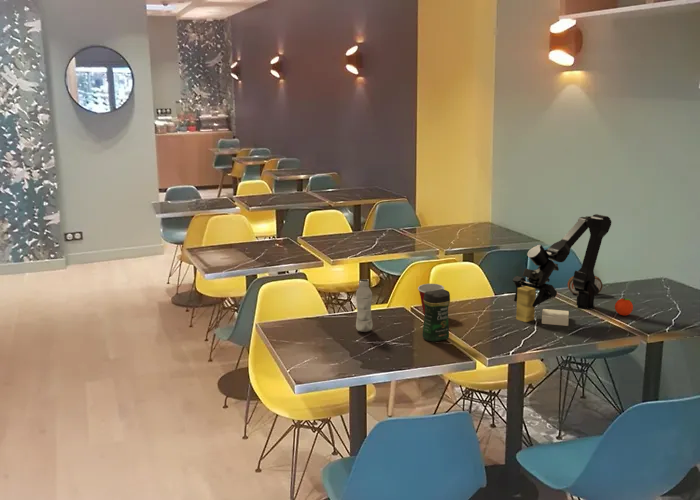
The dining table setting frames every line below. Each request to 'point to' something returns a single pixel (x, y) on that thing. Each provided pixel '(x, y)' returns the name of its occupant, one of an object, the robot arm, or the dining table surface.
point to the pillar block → (525, 304)
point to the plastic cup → (426, 288)
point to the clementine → (624, 306)
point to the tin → (572, 289)
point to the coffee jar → (436, 315)
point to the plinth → (555, 317)
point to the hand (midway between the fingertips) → (523, 303)
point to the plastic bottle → (364, 306)
